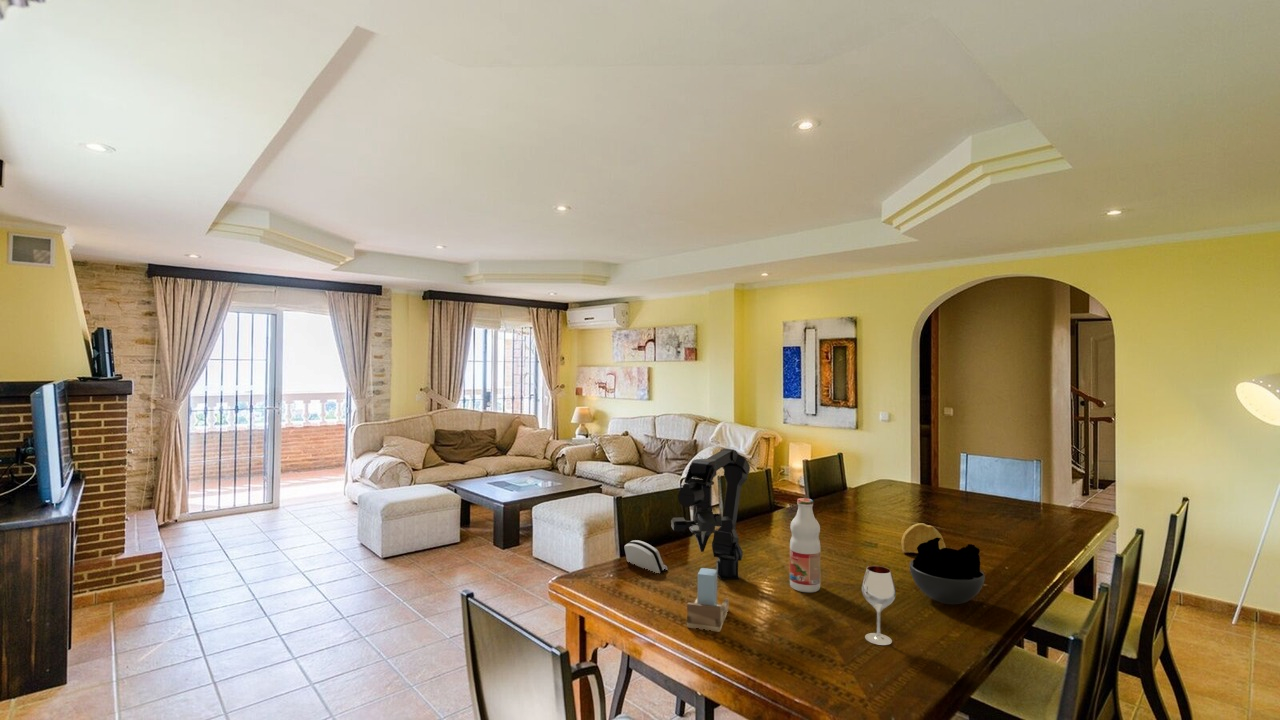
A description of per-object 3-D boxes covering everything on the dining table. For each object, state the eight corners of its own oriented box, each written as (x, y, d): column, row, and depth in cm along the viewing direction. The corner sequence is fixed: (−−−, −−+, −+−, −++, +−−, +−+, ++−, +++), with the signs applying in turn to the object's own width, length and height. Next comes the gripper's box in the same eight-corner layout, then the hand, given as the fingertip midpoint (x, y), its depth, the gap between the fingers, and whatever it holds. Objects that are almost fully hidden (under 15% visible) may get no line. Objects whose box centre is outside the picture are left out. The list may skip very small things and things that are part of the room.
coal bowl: (894, 594, 179) (894, 533, 179) (940, 585, 186) (940, 527, 187) (952, 620, 160) (952, 553, 160) (1000, 609, 168) (1000, 544, 168)
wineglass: (856, 632, 153) (856, 564, 153) (885, 631, 153) (885, 563, 153) (870, 647, 144) (871, 575, 145) (902, 646, 145) (902, 574, 145)
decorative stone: (903, 538, 231) (897, 515, 223) (945, 538, 224) (940, 514, 216) (905, 567, 222) (898, 544, 214) (949, 568, 215) (944, 545, 207)
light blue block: (701, 612, 162) (701, 567, 162) (716, 614, 160) (717, 569, 160) (697, 619, 157) (697, 573, 157) (713, 622, 156) (713, 575, 156)
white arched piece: (668, 570, 198) (661, 545, 196) (659, 578, 195) (651, 552, 193) (637, 558, 211) (630, 534, 209) (627, 565, 208) (620, 541, 206)
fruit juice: (824, 593, 179) (824, 503, 180) (793, 593, 179) (794, 502, 180) (815, 582, 189) (815, 496, 189) (786, 581, 189) (786, 496, 189)
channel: (698, 605, 169) (698, 584, 169) (728, 609, 166) (728, 588, 167) (687, 627, 155) (687, 604, 155) (719, 632, 152) (719, 608, 153)
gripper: (677, 507, 170) (676, 561, 169) (738, 506, 172) (738, 559, 172) (671, 499, 181) (670, 549, 181) (729, 498, 183) (728, 547, 183)
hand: (702, 551), depth 179 cm, fingers closed
